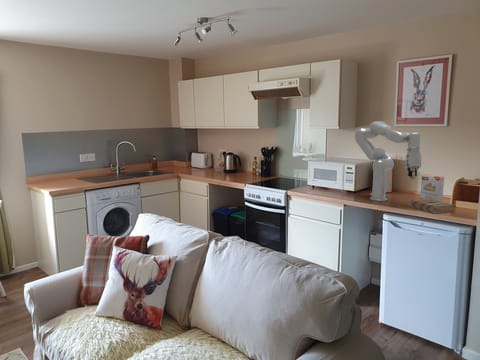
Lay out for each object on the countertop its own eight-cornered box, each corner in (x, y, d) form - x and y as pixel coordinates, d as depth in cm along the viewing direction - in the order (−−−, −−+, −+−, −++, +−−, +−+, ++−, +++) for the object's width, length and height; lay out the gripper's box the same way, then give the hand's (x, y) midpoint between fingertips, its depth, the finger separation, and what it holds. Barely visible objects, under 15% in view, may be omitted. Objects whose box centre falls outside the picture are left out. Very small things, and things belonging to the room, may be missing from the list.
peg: (408, 178, 259) (409, 165, 258) (412, 178, 260) (413, 165, 259) (412, 178, 256) (412, 166, 255) (415, 178, 257) (416, 165, 256)
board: (410, 207, 258) (411, 200, 257) (428, 205, 263) (429, 198, 262) (433, 213, 239) (434, 206, 238) (452, 211, 244) (453, 204, 243)
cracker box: (419, 202, 274) (421, 174, 271) (424, 201, 277) (426, 173, 274) (437, 205, 262) (439, 176, 259) (442, 204, 265) (444, 176, 262)
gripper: (408, 150, 249) (406, 177, 252) (427, 150, 254) (425, 176, 257) (400, 150, 256) (399, 176, 259) (418, 149, 261) (417, 175, 264)
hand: (412, 176), depth 258 cm, fingers closed on peg, 3 cm apart
